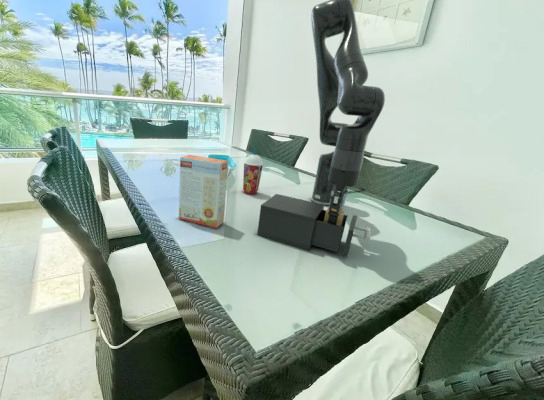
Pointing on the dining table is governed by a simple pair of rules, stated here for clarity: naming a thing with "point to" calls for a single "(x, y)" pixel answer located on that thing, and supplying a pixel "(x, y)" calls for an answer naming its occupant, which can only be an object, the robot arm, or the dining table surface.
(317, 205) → the cabinet
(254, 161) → the smoothie
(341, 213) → the block
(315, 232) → the drawer
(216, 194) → the cracker box
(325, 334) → the dining table surface
